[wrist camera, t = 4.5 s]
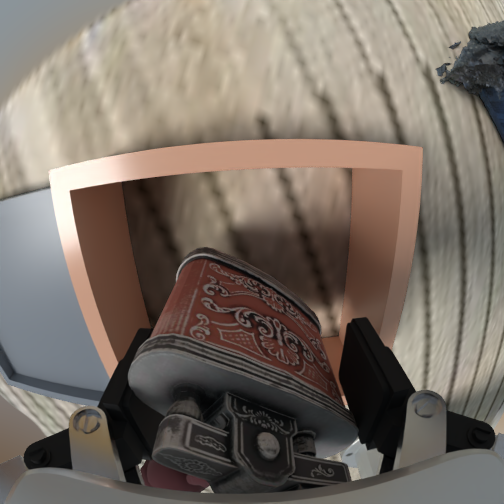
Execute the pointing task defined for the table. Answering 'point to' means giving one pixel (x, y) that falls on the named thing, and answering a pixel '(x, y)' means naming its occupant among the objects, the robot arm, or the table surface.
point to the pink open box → (234, 158)
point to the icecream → (170, 478)
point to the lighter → (242, 382)
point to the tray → (42, 308)
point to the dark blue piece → (482, 69)
